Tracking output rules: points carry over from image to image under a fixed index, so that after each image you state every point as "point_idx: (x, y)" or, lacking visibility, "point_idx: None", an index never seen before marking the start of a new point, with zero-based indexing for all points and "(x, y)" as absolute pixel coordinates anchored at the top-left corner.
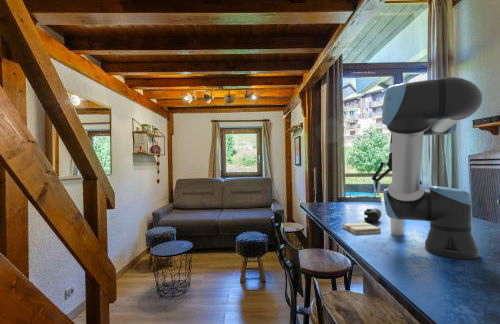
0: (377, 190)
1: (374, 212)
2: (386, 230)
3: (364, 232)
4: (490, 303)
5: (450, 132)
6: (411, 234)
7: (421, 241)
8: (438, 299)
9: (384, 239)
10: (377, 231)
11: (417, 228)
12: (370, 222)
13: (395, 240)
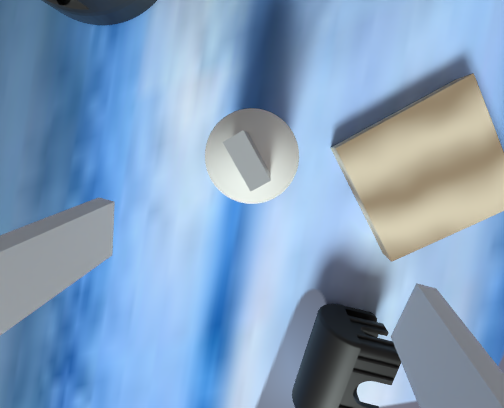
0: (469, 334)
1: (347, 339)
2: (296, 200)
3: (416, 102)
4: None
5: None
6: (201, 160)
7: (179, 53)
8: None
9: (333, 31)
10: (348, 138)
11: (161, 269)
12: (350, 313)
13: (286, 31)
